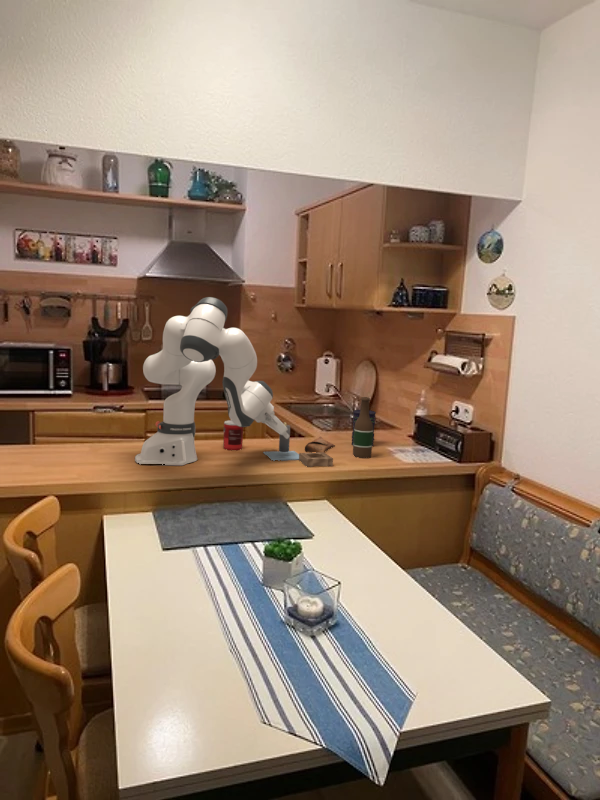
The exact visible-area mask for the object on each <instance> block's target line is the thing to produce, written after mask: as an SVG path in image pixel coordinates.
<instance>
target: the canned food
mask: <svg viewBox="0 0 600 800" xmlns="http://www.w3.org/2000/svg"><path fill="white" fill-rule="evenodd" d="M243 436H244V427H239V426H237V425H236V424H234V423H233V422H232V420H231V419H230V420H229V419H228V420H224V422H223V444H222V445H223V449H224V450H226V449H227V451H232V450H236V451H240V449H241V450H242V448H243V440H244V439H243V438H244V437H243Z"/></svg>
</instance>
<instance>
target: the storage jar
mask: <svg viewBox="0 0 600 800" xmlns="http://www.w3.org/2000/svg"><path fill="white" fill-rule="evenodd" d="M352 412H353V415H352V424H353V425H352V432H351V445H352V446H353V440H354V426H355V422H356V420H357V419H358V418H359V415H360V409H354V410H353V411H352ZM376 413H377V411H374V410H370V409H369V417H370V420H371V421H372V424H373V439H372V446H373V447H374V443H375V424H376Z"/></svg>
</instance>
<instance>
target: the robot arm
mask: <svg viewBox="0 0 600 800" xmlns="http://www.w3.org/2000/svg"><path fill="white" fill-rule="evenodd" d="M227 317H228V307H227V306H226V304H225V303H224V302H223V301H222V300H221V299H219V298H216V297H212V296H206V297H202V299H200V300H199V301H198V302H197V303H196V304H195V305H194V306H192V307H191V308H190V314H189V315H187V316H184V315H175V316H172V317H170V318H169V319H168V320H167V321H166V323H165V326H164V329H163V332H162V349H161V350H160V351H159V352H157V353H154V354H150V355H149V356H148V357H147V358H146V359H145V360H144V363H143V365H142V370H143V376H144V377H145V379H146V380H147V381H148V382H150V383H153V384H159V385H180V386H181V388H180V390H179V391H178V392H175V393H173V394H171V395H169V396H167V397H166V398H165V400H164V402H163V414H162V415H163V417H162V419H163V420H162V421H159V420H158V421H156V422H155V426H156V428H157V432H156V433H154V434H153V435H151V436H149V438H147V439H146V440H145V441H144V442H143V444H142V446H141V449H140V453H138V454H136V455H135V457H134V462H135V463H137V464H138V463H139V465H141V464H162V465H161V466H184V465H186V464H189V463H194V462H196V461H197V460H198V456H197V452H196V444H195V437H196V436H195V435H196V423H195V408H196V407H195V406H196V402H197V399H198V397H199V394H200V393H201V391H202V390H203V389H204V388H205V387H206V386H207V385H209V384H210V383H211V382H212V381H213V380H214V379H215V376H216V374H217V373H216V372H217V371H216V369H217V368H216V365H215V363H214V361H213V360H216V359H217V358H218V357H219V356H220V357H221V360H222V363H223V367H224V370H223V371H224V372H223V378H222V383H221V384H222V388H223V393H224V397H225V400H226V404H227V415H228V417H229V419H230V420H232V422H233V423H234V424H236V425H237V426H239V427H243V428H247V427H250V426H251V425H252V424H253V423H254V422H256V423H259V424H260V423H262V424H264V425H267V426H268V427H269V428H270V429H272V430H273V431H274V432H276V433H277V434H279V436H280V435H283V436H284V437H285V438H286V439H288V438H289V437H290V436H291V435H290V436H289V434H288V433H287V432H286V431H287V430H288V429H287V427H286V426H285V425H284V422H282V421H281V420H280V419H279V418H278V417H277V416H276V415H275V409H274V408H275V406H274V405H273V404H272V403H271V402H272V400H273V399H274V392H273V389H272V388H271V386H269V384H267V382H265V381H264V380H256V381H252V380H250V379H251V378H252V376H253V375H254V373H255V372H256V370H257V367H258V357H257V353H256V350H255V348H254V346H253V344H252V342H251V340H250V339H249V337H248V336H247V334H245V333H244V331H243V330H241V329H240V328H238V327H229V328H225V327H224V326H225V322H226V321H227ZM290 438H291V437H290ZM163 464H165V465H163Z"/></svg>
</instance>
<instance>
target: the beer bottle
mask: <svg viewBox="0 0 600 800" xmlns="http://www.w3.org/2000/svg"><path fill="white" fill-rule="evenodd" d="M360 400H361V403H360V409H359V410H360V415H359V418H358V419H357V420H356V422H355V426H354V440H353V445H352V455H354V456H355V457H354V456H353V457H354V458H357V457H359V458H358V459H369V458H368V457H370V458H372V453H373V447H372V439H373V424H372V421H371V420H370V417H369V410H370V401H371V398H370V397H369V396H363V397H361V398H360Z"/></svg>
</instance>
